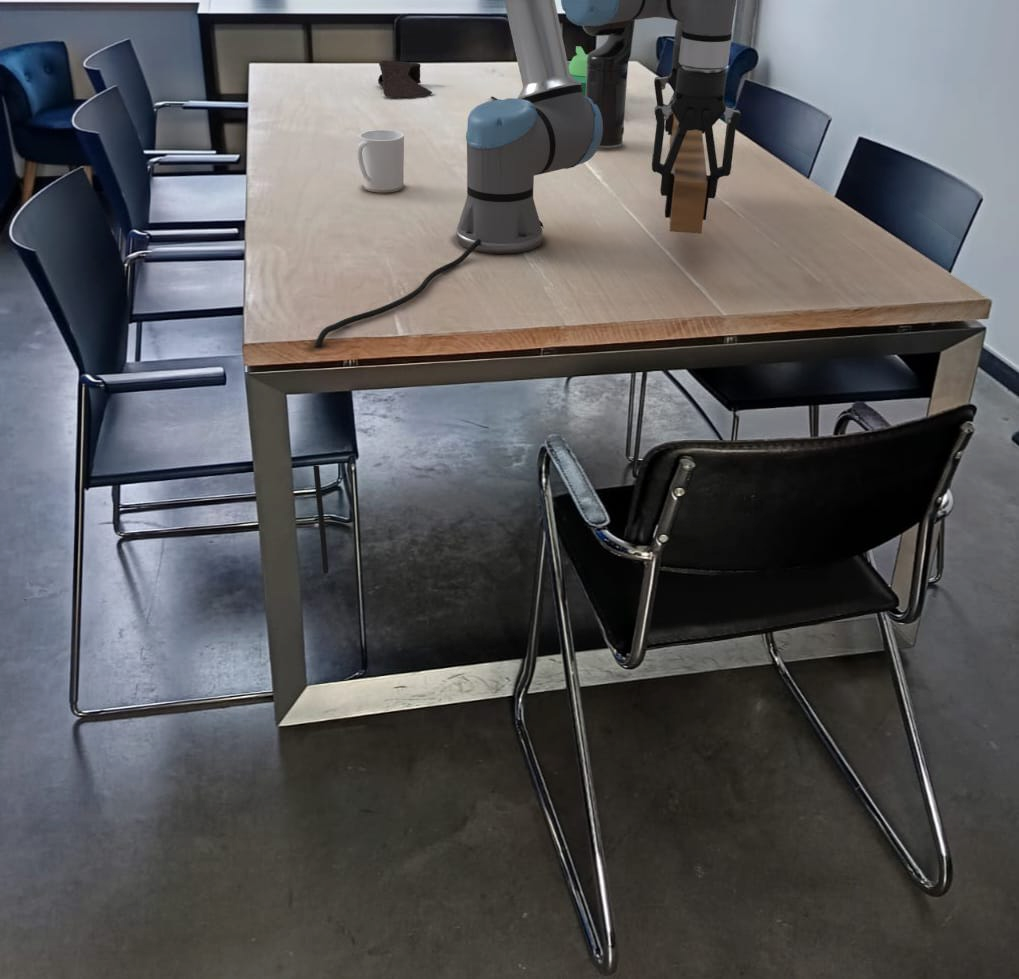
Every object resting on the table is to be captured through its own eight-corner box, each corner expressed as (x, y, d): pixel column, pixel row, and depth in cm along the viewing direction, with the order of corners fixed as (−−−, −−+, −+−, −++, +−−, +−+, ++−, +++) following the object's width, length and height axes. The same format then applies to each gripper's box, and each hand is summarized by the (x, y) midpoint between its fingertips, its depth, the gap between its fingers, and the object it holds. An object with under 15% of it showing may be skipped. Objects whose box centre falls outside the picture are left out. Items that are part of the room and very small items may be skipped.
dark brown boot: (443, 87, 294) (392, 77, 287) (436, 115, 299) (385, 106, 292) (421, 62, 307) (371, 52, 300) (414, 89, 311) (365, 80, 304)
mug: (383, 178, 227) (381, 127, 222) (414, 186, 223) (413, 135, 217) (344, 189, 220) (341, 137, 215) (376, 198, 215) (373, 145, 210)
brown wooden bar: (701, 233, 174) (707, 183, 170) (669, 231, 175) (675, 181, 170) (694, 145, 220) (699, 103, 216) (669, 143, 221) (673, 101, 216)
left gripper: (760, 65, 170) (738, 212, 182) (642, 59, 171) (629, 205, 183) (765, 75, 164) (742, 226, 176) (643, 69, 165) (629, 220, 177)
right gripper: (732, 40, 207) (720, 132, 216) (655, 36, 208) (647, 128, 217) (734, 48, 200) (722, 142, 210) (655, 44, 202) (647, 137, 211)
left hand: (685, 215), depth 180 cm, fingers closed on brown wooden bar, 5 cm apart
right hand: (684, 134), depth 213 cm, fingers closed on brown wooden bar, 5 cm apart
